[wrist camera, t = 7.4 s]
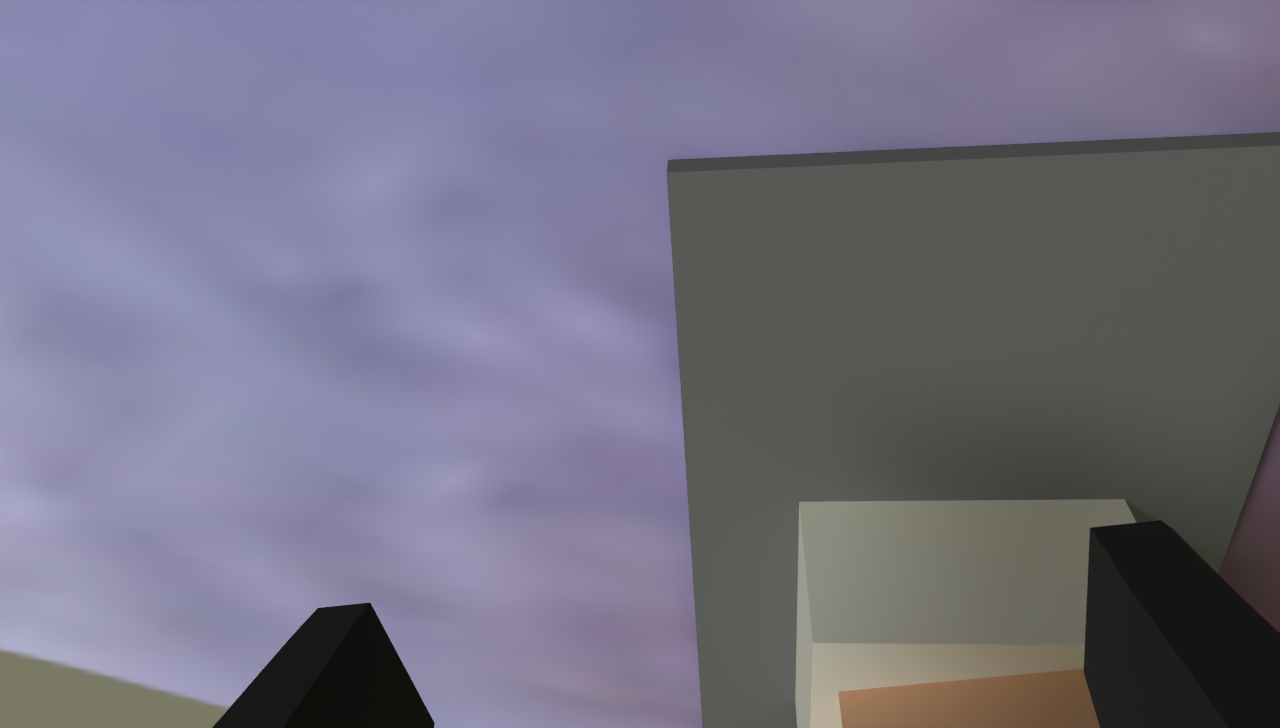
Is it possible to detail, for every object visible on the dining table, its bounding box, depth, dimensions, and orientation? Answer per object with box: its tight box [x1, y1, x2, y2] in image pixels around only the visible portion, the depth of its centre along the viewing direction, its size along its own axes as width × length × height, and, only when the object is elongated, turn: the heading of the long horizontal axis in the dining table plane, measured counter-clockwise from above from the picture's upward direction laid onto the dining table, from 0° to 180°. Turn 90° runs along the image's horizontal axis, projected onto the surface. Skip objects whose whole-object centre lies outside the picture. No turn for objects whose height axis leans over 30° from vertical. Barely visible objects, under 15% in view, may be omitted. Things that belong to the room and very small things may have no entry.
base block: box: [795, 499, 1136, 728], centre depth 22 cm, size 7×7×4 cm
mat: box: [667, 132, 1280, 728], centre depth 22 cm, size 12×18×1 cm, turn 4°
